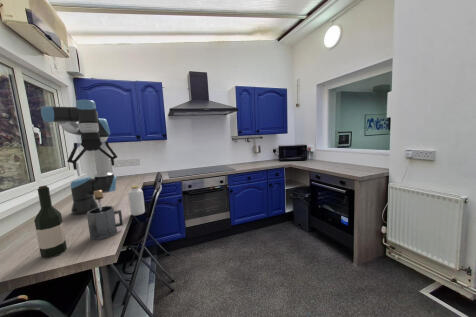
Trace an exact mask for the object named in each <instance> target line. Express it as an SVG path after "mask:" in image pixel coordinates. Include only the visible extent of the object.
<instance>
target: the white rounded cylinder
mask: <svg viewBox="0 0 476 317" xmlns="http://www.w3.org/2000/svg"><path fill="white" fill-rule="evenodd" d="M127 194H128V202H129V210H130V215H131V216H140V215H143V214H144V213H145V212H146V208H145V198H144V191H143V190H142V189H140V188H139V185H135V186H131V187H130V190H129V191H128V193H127Z"/></svg>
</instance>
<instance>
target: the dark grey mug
mask: <svg viewBox="0 0 476 317" xmlns="http://www.w3.org/2000/svg"><path fill="white" fill-rule="evenodd" d="M101 207H102V212H101V213H100V210H99V207H98V208H95V209H93V210H90V211H88V212H87V213H86V218H87V226H88V230H89V238H90V240H91V241H101V240H104V239H108V238H110V237H112V236H114V235H116V234H117V233H118V227H122V226H124V223H123V216H122V209H119V210H115V208H114V206H112V205H105V206H101ZM116 215H118V218H119V223H116Z"/></svg>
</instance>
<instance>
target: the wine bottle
mask: <svg viewBox="0 0 476 317" xmlns="http://www.w3.org/2000/svg"><path fill="white" fill-rule="evenodd" d="M37 193H38V199H39V205H40V209H39V211H38V213H37V214H36V216H35V218H34V221H33V222H34V226H35V231H36V236H37V242H38V248H39V254H40V258H41V259H46V260H47V259H50V258H54V257H58V256H60V255H61V254H63V253H65V252H66V250H67V249H68V247H67V246H68V245H67V242H66V241H67V240H66V234H65V228H64V222H63V216H62V213H61V211H59V210H58V209H57V208H55V206H53V204H52V198H51V193H50V187H48V185H40V186H38V188H37Z"/></svg>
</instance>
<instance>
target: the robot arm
mask: <svg viewBox="0 0 476 317" xmlns="http://www.w3.org/2000/svg"><path fill="white" fill-rule="evenodd" d="M75 104H76V106H52V105H50V106H49V105H48V106H42V107H41V108H40V114H41V118H42V120H43V122H45V123H56V124H58V125H59V126H60V127H61V128H62V130H64V132H67V133H69V134H73V135H76V136H80V137H81V142H74V143H73V148H72V150H71V152H70V154H69V156H68V159H67V163H69V164H72V167H73V170H74V171H76V172H77V177H80V178H78V179H74V180H72V181H71V182H70V190H71V197H72V207H71V211H70V213H71V215H76V216H77V215H78V216H79V215H84V214H87V212H88V211H90V210H93V209H95V208H99V203H98V202H97V200H95V198H94V191H97V190H102V191H103V194H105V193H111V192H115V190H117V175H114V173H113V172H114V171H113V166H115V159H117V158H118V155H117V154H116V153H115V152H114V151H113V148H112V147H111V146H110V145H109V141H107V140H108V138H109V136H110V135H111V131H110V127H109V124H108V121H107V119H106V118H100V117H99V112H98V111H97V106H96V102H95V101H94V100H90V99H77V100H76V101H75ZM80 146H81V147H82V148H83V149H82V150H81V151H80V152H79V153H78V155H76V156H75V154H76V152H77V150H78V148H79V147H80ZM86 151H87V152H91V151H93V158H94V163H95V170H96V171H95V172H96V174H94V178H92V176H86V177H81V171H80V164H79V162H78V161H79V160H80V158H81V157H82V156H83V155H84V154H85V152H86ZM109 152H110V153H111V154H110V153H109ZM74 157H75V158H74Z"/></svg>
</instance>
